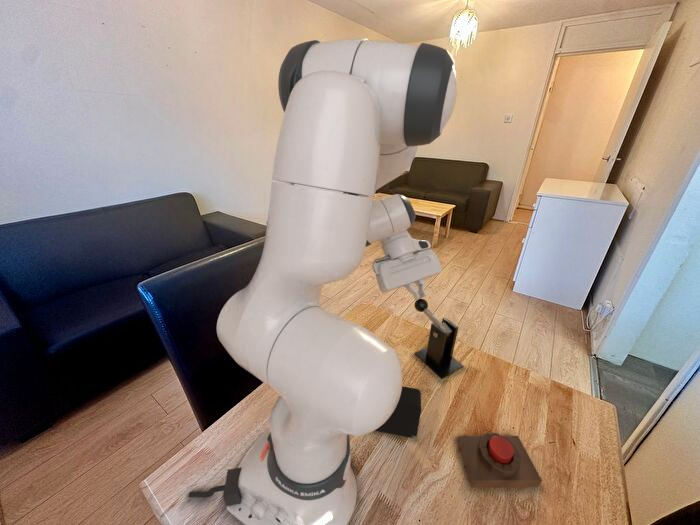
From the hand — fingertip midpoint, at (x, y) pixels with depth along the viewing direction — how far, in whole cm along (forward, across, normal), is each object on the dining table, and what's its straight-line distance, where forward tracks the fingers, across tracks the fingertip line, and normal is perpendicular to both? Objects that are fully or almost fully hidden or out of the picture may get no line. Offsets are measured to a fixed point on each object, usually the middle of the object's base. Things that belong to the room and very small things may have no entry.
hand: (420, 298), depth 77 cm
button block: (+34, -10, -12) cm, 38 cm away
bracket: (+18, 0, +4) cm, 18 cm away
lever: (+6, 0, +1) cm, 6 cm away
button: (+32, -9, -15) cm, 36 cm away
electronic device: (+23, -22, -1) cm, 32 cm away
